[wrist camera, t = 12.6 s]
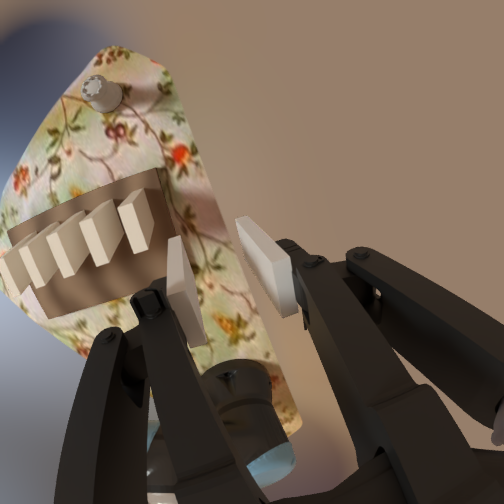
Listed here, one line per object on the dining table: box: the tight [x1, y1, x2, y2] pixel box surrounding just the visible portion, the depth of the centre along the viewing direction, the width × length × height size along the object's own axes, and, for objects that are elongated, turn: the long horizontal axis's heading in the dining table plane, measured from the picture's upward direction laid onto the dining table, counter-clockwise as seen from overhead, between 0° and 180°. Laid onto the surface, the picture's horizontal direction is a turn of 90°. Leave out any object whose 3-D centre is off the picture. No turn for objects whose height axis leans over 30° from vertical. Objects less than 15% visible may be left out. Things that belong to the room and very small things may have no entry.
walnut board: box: [7, 168, 176, 319], centre depth 35 cm, size 26×16×2 cm, turn 102°
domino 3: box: [46, 210, 90, 278], centre depth 28 cm, size 2×5×10 cm, turn 12°
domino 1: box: [0, 231, 37, 298], centre depth 27 cm, size 2×5×10 cm, turn 12°
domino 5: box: [117, 188, 154, 254], centre depth 30 cm, size 2×5×10 cm, turn 12°
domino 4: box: [79, 199, 124, 267], centre depth 29 cm, size 2×5×10 cm, turn 12°
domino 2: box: [19, 221, 60, 289], centre depth 28 cm, size 2×5×10 cm, turn 12°
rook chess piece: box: [81, 75, 123, 113], centre depth 25 cm, size 4×4×8 cm
